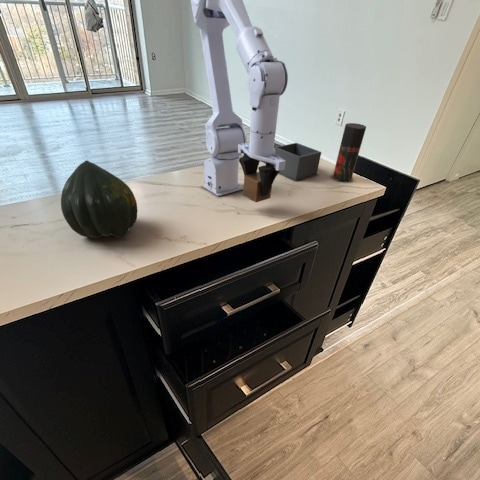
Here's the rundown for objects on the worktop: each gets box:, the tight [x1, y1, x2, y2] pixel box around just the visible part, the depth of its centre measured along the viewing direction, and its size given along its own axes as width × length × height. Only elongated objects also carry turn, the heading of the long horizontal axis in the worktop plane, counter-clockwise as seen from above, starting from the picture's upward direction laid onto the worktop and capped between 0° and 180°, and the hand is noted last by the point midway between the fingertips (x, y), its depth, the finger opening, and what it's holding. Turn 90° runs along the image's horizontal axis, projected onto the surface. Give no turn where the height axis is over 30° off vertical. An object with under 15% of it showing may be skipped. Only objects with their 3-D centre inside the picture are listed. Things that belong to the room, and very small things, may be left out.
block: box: [243, 171, 273, 203], centre depth 79 cm, size 5×5×5 cm
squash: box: [60, 159, 139, 239], centre depth 68 cm, size 14×15×15 cm
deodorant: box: [332, 122, 367, 183], centre depth 98 cm, size 6×6×15 cm
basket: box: [274, 142, 322, 182], centre depth 104 cm, size 10×17×7 cm, turn 39°
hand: (257, 191), depth 80 cm, fingers closed on block, 5 cm apart
